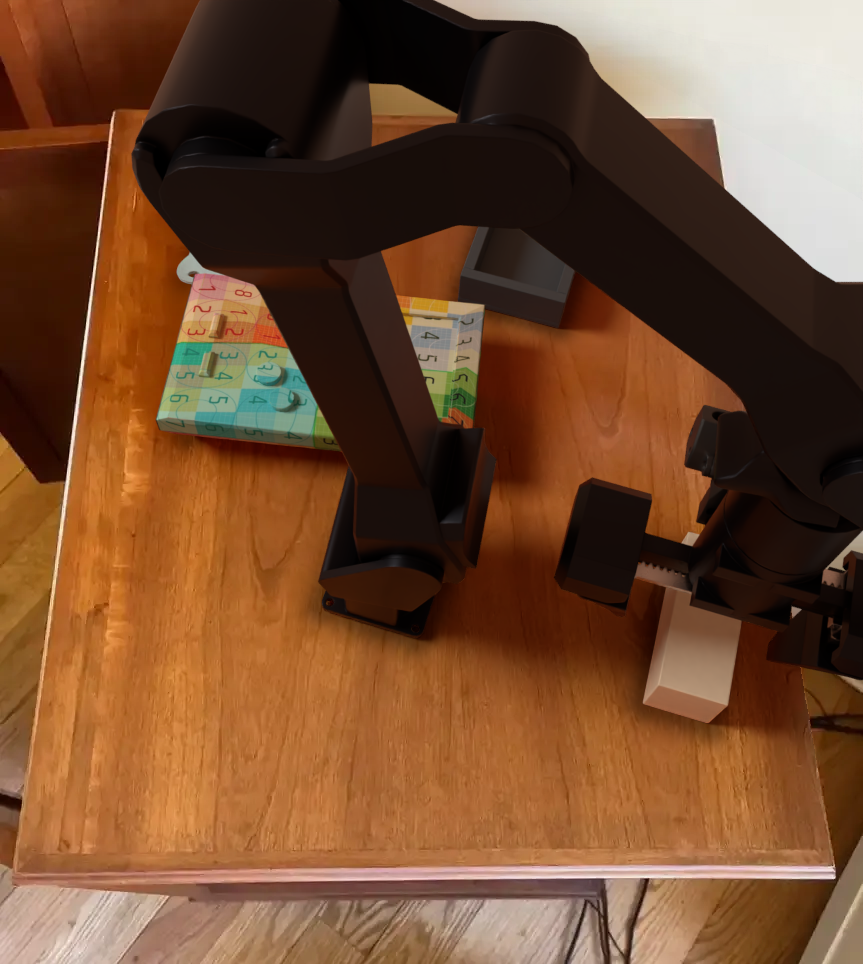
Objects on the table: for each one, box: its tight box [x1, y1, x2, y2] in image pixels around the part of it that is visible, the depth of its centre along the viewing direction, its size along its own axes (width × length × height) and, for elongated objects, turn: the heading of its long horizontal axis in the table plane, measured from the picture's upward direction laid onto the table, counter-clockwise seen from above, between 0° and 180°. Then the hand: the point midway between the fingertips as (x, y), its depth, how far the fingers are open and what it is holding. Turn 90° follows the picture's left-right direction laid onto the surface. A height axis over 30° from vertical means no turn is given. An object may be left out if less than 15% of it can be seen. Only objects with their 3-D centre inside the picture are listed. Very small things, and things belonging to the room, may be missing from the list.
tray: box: [457, 227, 577, 329], centre depth 75 cm, size 14×8×3 cm, turn 163°
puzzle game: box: [155, 273, 486, 452], centre depth 68 cm, size 12×5×20 cm
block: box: [642, 531, 743, 724], centre depth 61 cm, size 4×4×10 cm
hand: (694, 630), depth 61 cm, fingers open, 9 cm apart
